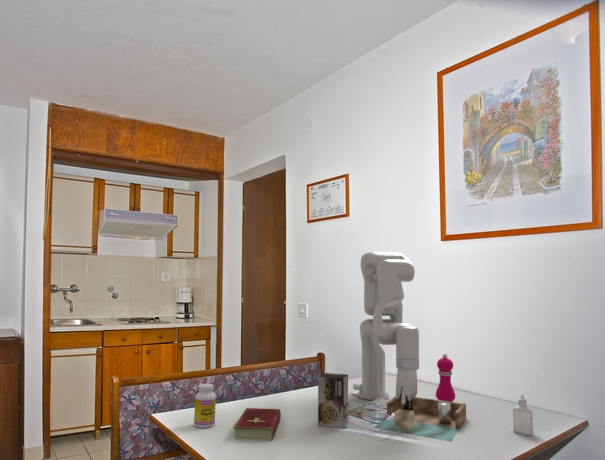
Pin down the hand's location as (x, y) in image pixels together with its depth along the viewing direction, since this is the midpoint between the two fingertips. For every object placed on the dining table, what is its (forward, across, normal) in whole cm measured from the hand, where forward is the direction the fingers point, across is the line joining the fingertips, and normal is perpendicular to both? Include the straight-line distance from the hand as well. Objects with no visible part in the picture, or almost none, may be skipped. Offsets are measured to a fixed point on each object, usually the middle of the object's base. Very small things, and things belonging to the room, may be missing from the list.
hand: (407, 420), depth 156 cm
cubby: (+2, -3, +4) cm, 5 cm away
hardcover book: (+3, +27, -41) cm, 49 cm away
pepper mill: (+2, -31, +6) cm, 31 cm away
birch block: (+1, +5, 0) cm, 5 cm away
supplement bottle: (+2, +34, -58) cm, 67 cm away
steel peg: (+1, -8, +10) cm, 13 cm away
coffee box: (+2, +11, -22) cm, 25 cm away
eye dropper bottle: (+2, -13, +34) cm, 36 cm away
